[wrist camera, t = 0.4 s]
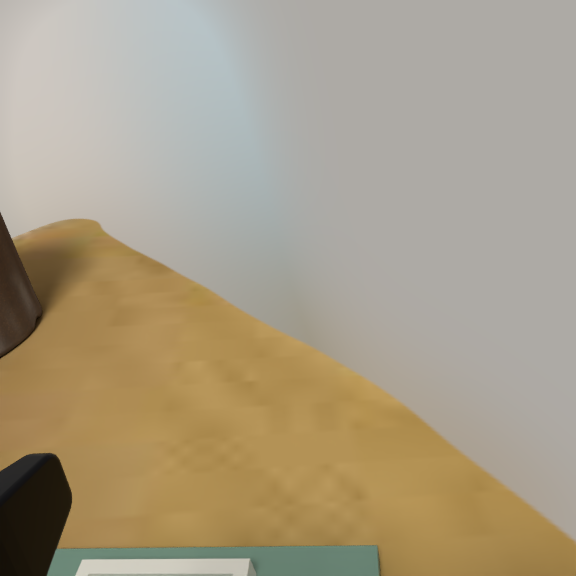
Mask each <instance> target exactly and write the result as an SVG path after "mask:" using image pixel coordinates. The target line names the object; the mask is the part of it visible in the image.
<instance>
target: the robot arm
mask: <svg viewBox="0 0 576 576" xmlns="http://www.w3.org/2000/svg"><path fill="white" fill-rule="evenodd" d="M71 504H72V493H71V489H70V487H69V484H68V481H67V478H66V476H65V473H64V470H63V468H62V465H61V462H60V460H59V458H58V457H57V456H56V455H55V454H52V453H38V454H29V455H26V456H24V457H23V458H21V459H19V460H18V461H16V462H15V463H13V464H11V465H10V466H8V467H7V468H5V469H3V470H2V471H0V576H47V574H48V571H49V568H50V565H51V563H52V560H53V557H54V554H55V551H56V549H57V546H58V543H59V540H60V537H61V535H62V532H63V529H64V526H65V523H66V520H67V518H68V515H69V512H70V509H71Z"/></svg>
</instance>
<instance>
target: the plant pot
mask: <svg viewBox="0 0 576 576" xmlns="http://www.w3.org/2000/svg"><path fill="white" fill-rule="evenodd" d="M41 314H42V308H41V305H40V302H39V300H38V298H37V296H36V294H35V292H34V290H33V288H32V285H31V283H30V281H29V278H28V276H27V274H26V271H25V269H24V267H23V265H22V262H21V260H20V258H19V255H18V253H17V251H16V248H15V246H14V243H13V241H12V239H11V237H10V234H9V232H8V229H7V227H6V225H5V222H4V220H3V217H2V215H1V213H0V357H1V356H3V355H4V354H6V353H8V352H9V351H10V350H12V349H13V348H14V347H15V346H17V345H18V344H19V343H20V342H22V341H23V340H24V339H25V338H26V337H27V336H28V335H29V334H30V333H31V332H32V331H33V330H34V328H35V322H36V318H38V317H40V316H41Z"/></svg>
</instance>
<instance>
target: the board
mask: <svg viewBox="0 0 576 576" xmlns="http://www.w3.org/2000/svg"><path fill="white" fill-rule="evenodd" d="M47 576H380V562H379V554H378V548H377V545H372V546H279V547H187V548H95V549H56V551H55V554H54V557H53V560H52V563H51V565H50V568H49V571H48V574H47Z"/></svg>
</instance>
